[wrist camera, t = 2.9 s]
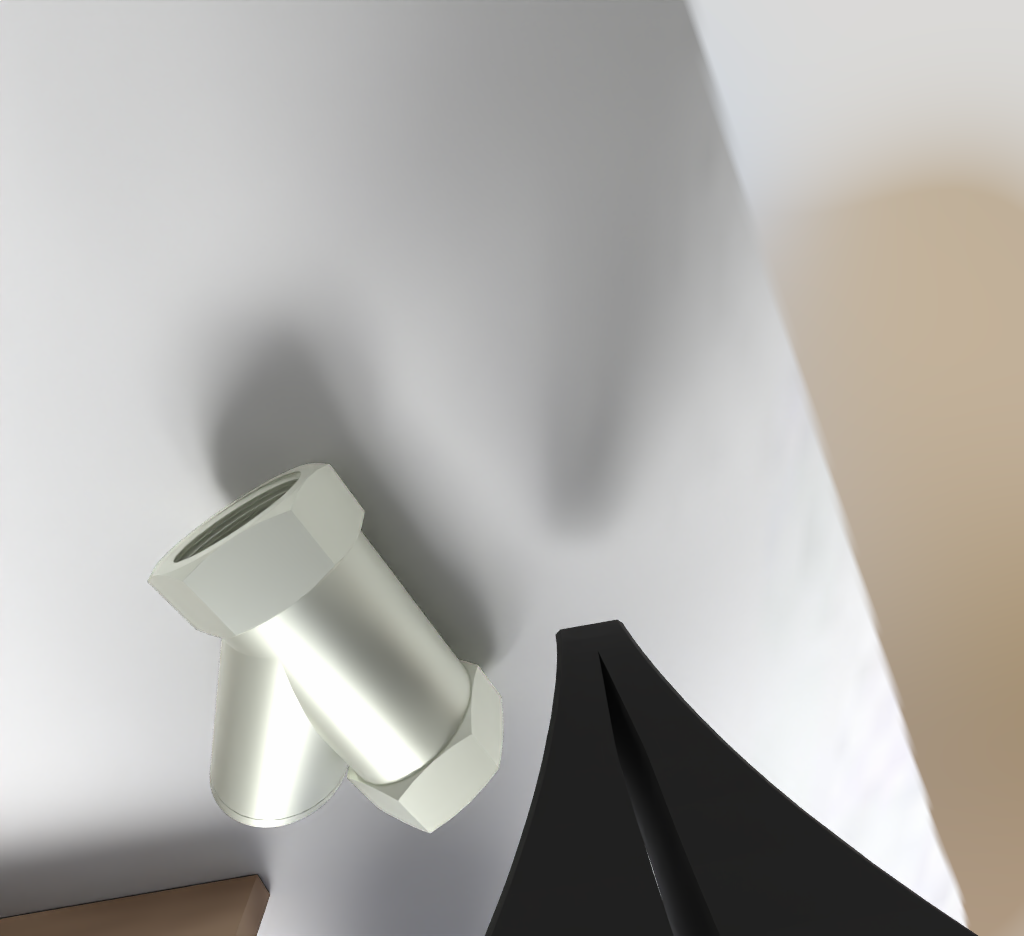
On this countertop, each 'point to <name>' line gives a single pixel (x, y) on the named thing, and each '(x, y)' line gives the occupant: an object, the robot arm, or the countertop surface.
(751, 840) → the robot arm
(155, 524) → the countertop surface
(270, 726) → the pipe fitting
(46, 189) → the countertop surface
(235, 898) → the corner arena
